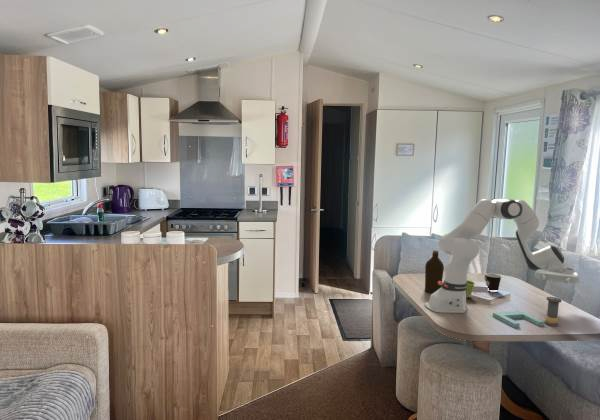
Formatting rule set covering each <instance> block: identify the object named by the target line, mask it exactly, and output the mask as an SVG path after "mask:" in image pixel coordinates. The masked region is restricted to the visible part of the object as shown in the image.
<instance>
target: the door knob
mask: <svg viewBox="0 0 600 420" xmlns="http://www.w3.org/2000/svg"><path fill="white" fill-rule="evenodd" d="M546 301H548V302H547V312H546V315H545V319H544V320H543V321H544V325H545V326H549V327H553V328H554V327H555V328H556V326H557V327H559V324H560V323H559V306H560V303H562V299H561V298H559V297H555V296H547V297H546Z"/></svg>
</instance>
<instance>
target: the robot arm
mask: <svg viewBox="0 0 600 420" xmlns="http://www.w3.org/2000/svg"><path fill="white" fill-rule="evenodd" d="M491 219H500V220H513V221H514V223H515V224H516V227H517V229H516V230H515V236H516V240H517V242H518V245H519V249H520V250H521V252H522V255H523V258H524V261H525V264H526V266H527V268H528V269H529V270H532V271H534V278H535V279H537V280H543V281H552V282H554V283H561V282H562V283H564V284H568V283H569V284H579V281H580V279H579V278H580V277H579V276H580V275H579V274H578V272H577V270H576V269H573V268H569V267H567V264H566V263H565V257H564V255H563V252H562V251H561V250H560V248H558V247H557V246H555V245H552V244H551V245H548V246H546V247H543V248H541V249H539V250H536V251H531V250H530V246H529V245H528V242H527V241H528V239H529V238H530V237H531V236H532V235H533V234H534V233H536V231H537V230H538V229H539V226H540V220H539V218H538V216H537V214H536V213H535V211H534V209H533V208H532V207H531V206H530V205H529V204H528V203H527V202H526V201H525V200H523V199H515V200H514V199H512V198H511V199H510V198H509V199H507V198H493V199H487V198H483V199H480V200H479V201H478V202H477V203H476V204H475V205H474V206H472V208H471V209H470V211H469V212H468V213H467V215H466V216H465V218H464V219H463V220H462V221H461V223H459V224H458V225H457V226H456V227H454V229H453V230H451V231H450V232H447V233H446V234H443V235H442V236H440V238H439V240H438V247H439V248H440V250H441V251H442V252H443V253H446V254H447V255H451V256H452V257H451V260H450V262H449V263H447V265H446V267H445V272H444V280H443V281H442V282H441V281H438V284H439V285H442V286H441V288H440V289H438V290H437V291H436V292H434V293H433V294H432V293H430V296H429V301H427V302H424V307H426V308H427V309H429V310H431V311H432V312H435V313H444V314H445V313H446V314H447V313H450V314H452V313H453V314H454V313H455V314H457V313H459V314H460V313H462V314H463V313H464V314H465V313H466V312H467V310H468V304H467V298H466V290H467V283H466V280H467V279H468V271H469V266H470V264H471V262H472V261H473V260H474V259H476V258H477V256H479V255H478V254H479V251H480V248H479V244H478V243H476V242H475V241H473V239H475V238H476V237H479V236H480V235H482V233H483V231H484V230H485V228H486V227H487V225H488V224H489V223H490V221H491ZM545 267H546V268H547V267H548V269H543V268H545Z"/></svg>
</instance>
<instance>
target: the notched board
mask: <svg viewBox="0 0 600 420" xmlns="http://www.w3.org/2000/svg"><path fill="white" fill-rule="evenodd" d="M492 317H494V318H495V319H498V320H499V321H500V322H502V323H504V324H506V325H508V326H510V327H512V328H515V329H517V328H520V326H521V325H520V324H521V323H520V322H518V321H516V320H514V319H524V320H526V321H528V322H530V323H531V324H534V325H536V326H537V327H542V326H544V325H545V324H544V321H545V320H541V319H540V318H537V317H535V316H534V315H531V314H528V313H527V312H525V311H522V310H510V311H509V310H508V311H494V312H492Z"/></svg>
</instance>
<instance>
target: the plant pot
mask: <svg viewBox="0 0 600 420" xmlns="http://www.w3.org/2000/svg"><path fill="white" fill-rule="evenodd" d="M466 283H467V290H466V299H467V298H468V296H469V295H471V296H472V294H473V289H474V286H475V284H476V283H475V282H474V281H472V280H466ZM468 299H469V298H468Z"/></svg>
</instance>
